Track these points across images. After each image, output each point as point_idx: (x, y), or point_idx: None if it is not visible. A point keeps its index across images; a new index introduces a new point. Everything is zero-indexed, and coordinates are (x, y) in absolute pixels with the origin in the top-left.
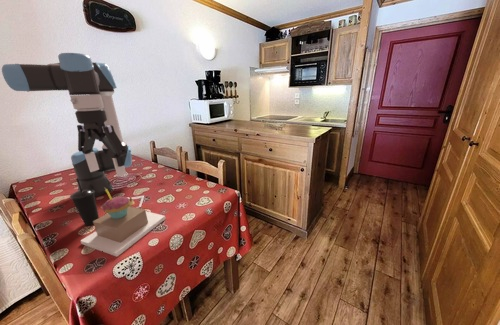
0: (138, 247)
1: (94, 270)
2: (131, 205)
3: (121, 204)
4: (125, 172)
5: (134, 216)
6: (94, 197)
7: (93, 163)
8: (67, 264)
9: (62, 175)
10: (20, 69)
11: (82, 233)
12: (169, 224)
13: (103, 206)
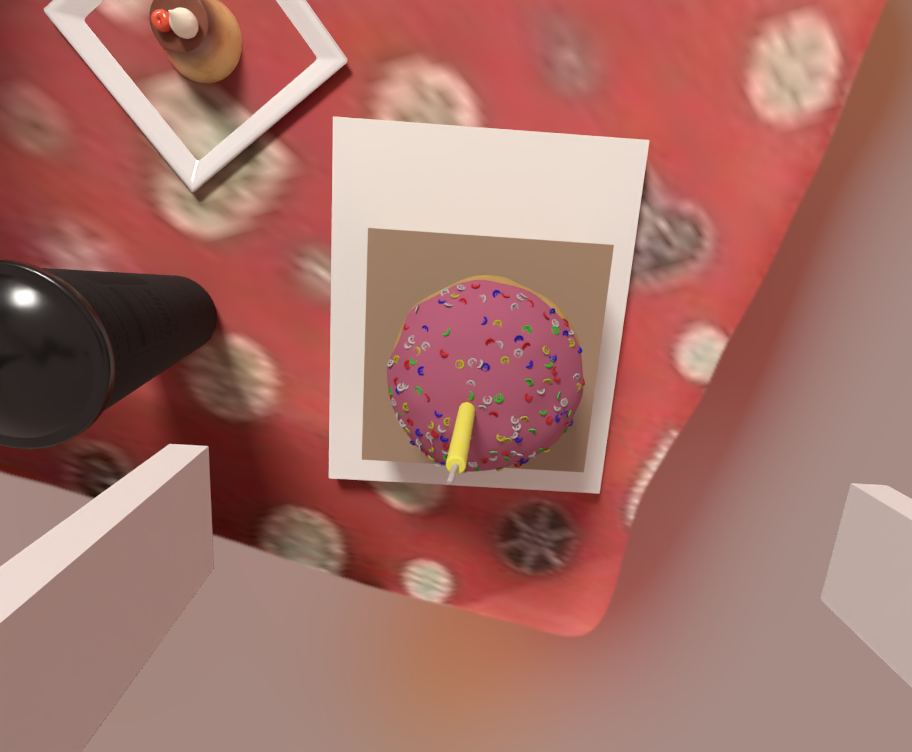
0: (650, 409)
1: (561, 561)
2: (239, 53)
3: (572, 404)
4: (905, 506)
5: (598, 340)
6: (107, 293)
7: (132, 588)
8: (412, 570)
9: None
10: None
11: (241, 408)
12: (703, 193)
13: (436, 456)
